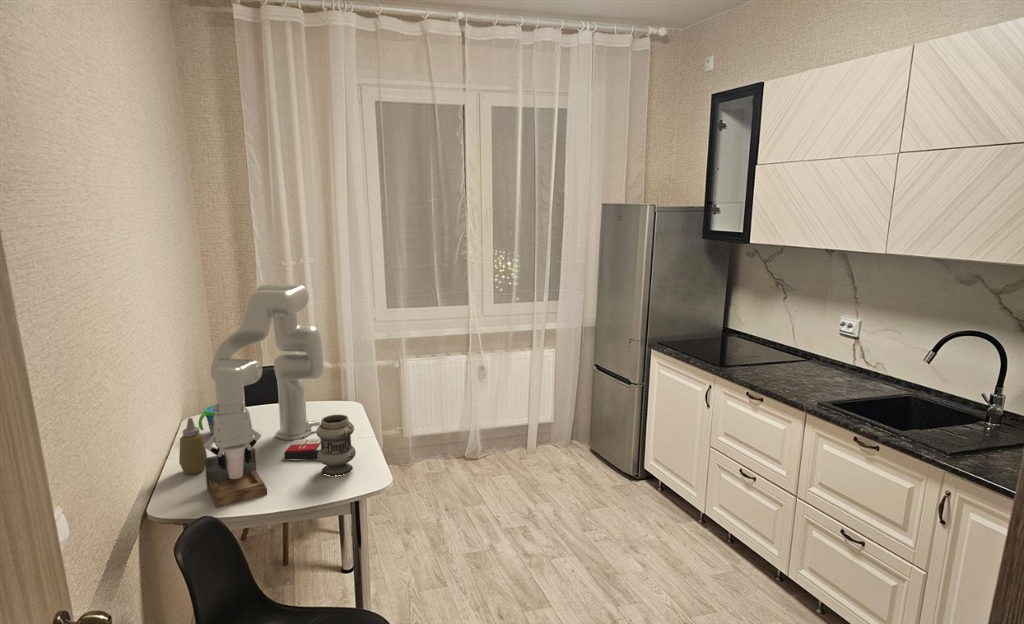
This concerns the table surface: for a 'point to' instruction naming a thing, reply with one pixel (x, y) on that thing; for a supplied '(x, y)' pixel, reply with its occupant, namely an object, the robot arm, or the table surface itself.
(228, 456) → the smoothie
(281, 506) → the table surface
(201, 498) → the table surface
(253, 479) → the display stand
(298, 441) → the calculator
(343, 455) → the apothecary jar
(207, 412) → the snack cup
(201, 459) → the squeeze bottle
